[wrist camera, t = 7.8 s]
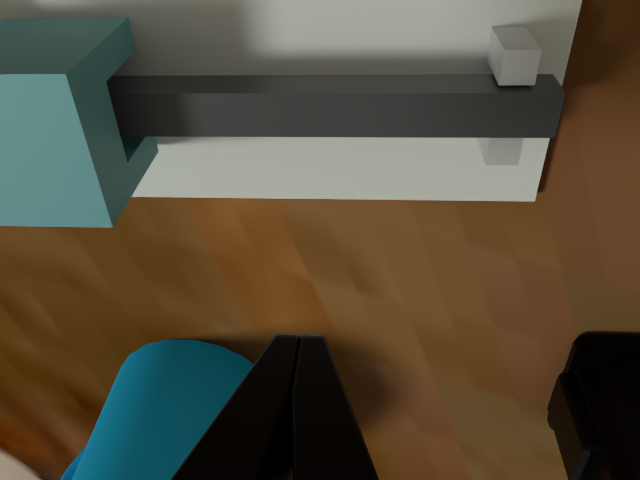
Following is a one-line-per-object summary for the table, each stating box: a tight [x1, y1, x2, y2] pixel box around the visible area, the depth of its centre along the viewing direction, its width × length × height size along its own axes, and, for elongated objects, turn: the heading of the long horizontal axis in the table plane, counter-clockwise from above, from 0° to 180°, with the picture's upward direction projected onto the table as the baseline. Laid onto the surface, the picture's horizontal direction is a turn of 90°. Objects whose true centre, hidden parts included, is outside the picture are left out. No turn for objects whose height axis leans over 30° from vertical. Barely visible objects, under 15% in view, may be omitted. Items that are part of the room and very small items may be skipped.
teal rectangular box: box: [0, 18, 158, 228], centre depth 17 cm, size 4×5×5 cm
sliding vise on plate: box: [0, 0, 582, 201], centre depth 18 cm, size 23×9×5 cm, turn 92°
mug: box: [60, 339, 253, 480], centre depth 28 cm, size 12×8×8 cm
